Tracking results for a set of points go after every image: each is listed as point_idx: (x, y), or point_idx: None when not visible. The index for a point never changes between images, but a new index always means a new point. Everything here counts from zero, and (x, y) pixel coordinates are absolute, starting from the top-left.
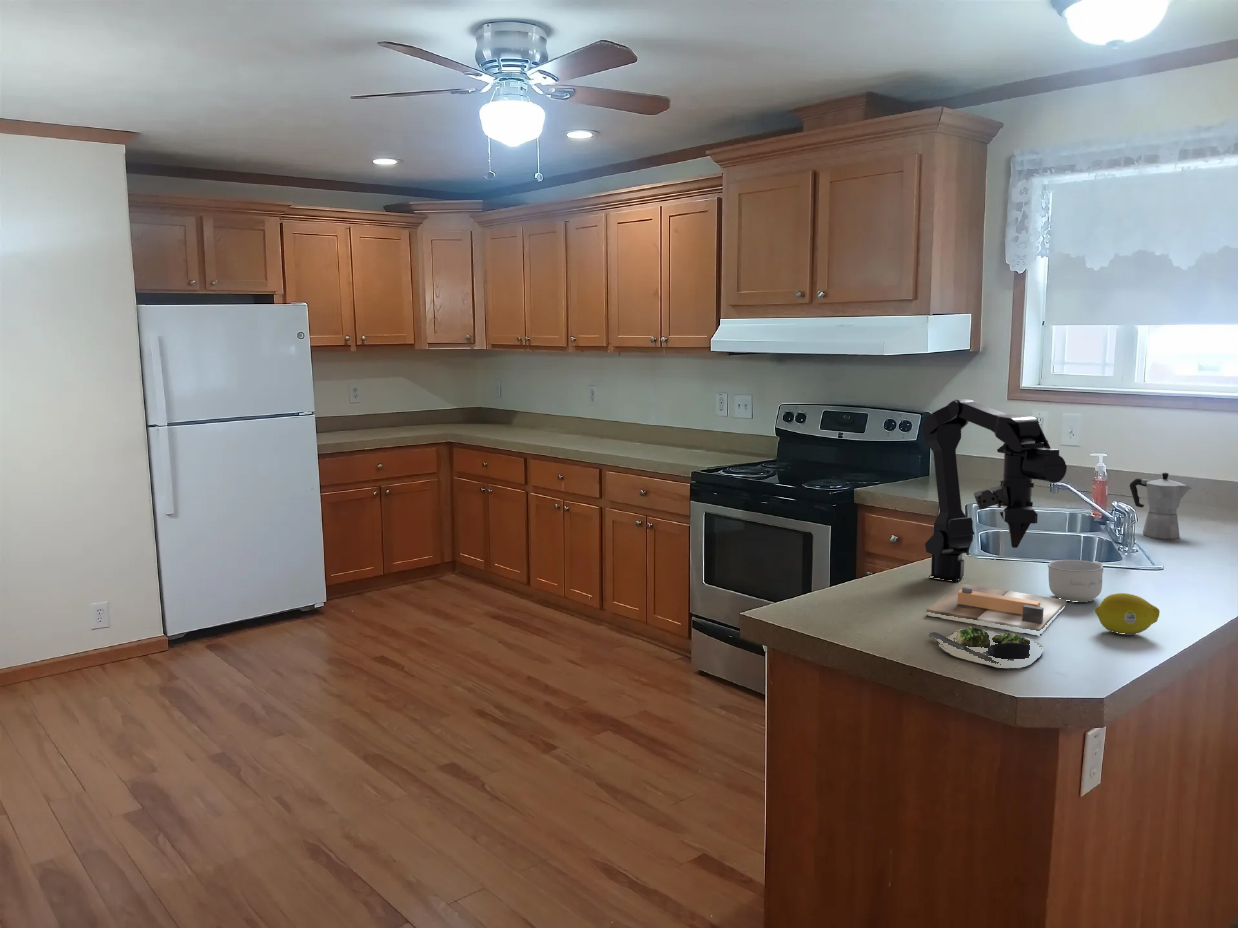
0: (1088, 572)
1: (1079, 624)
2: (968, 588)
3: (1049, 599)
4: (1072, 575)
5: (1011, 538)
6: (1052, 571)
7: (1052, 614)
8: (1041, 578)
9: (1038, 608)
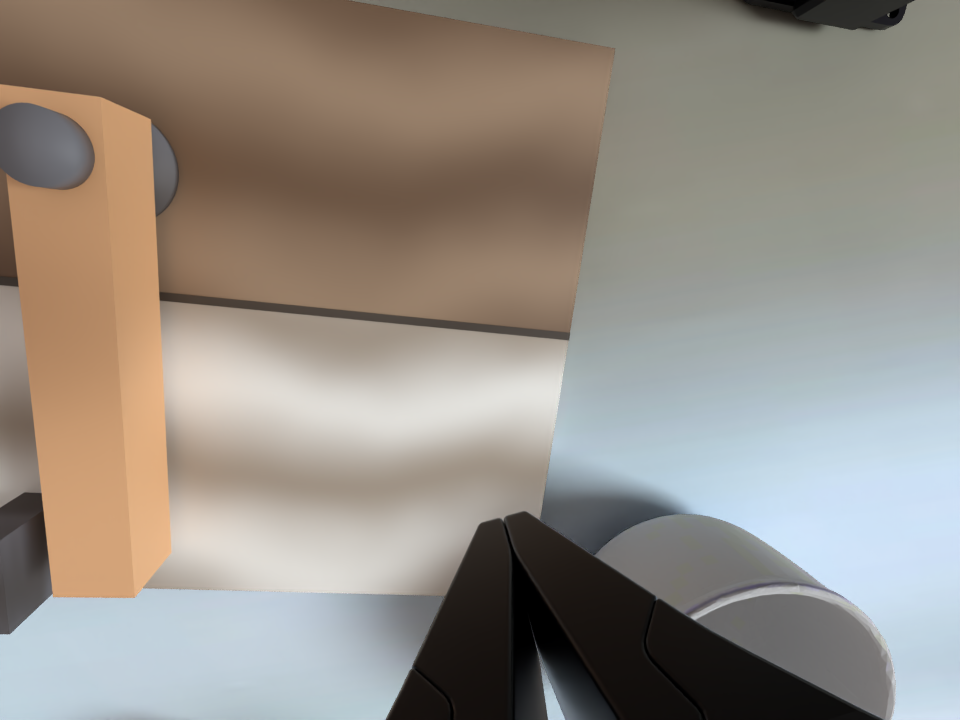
0: None
1: (279, 656)
2: (34, 156)
3: None
4: None
5: (444, 606)
6: None
7: (239, 588)
8: (953, 417)
9: None
